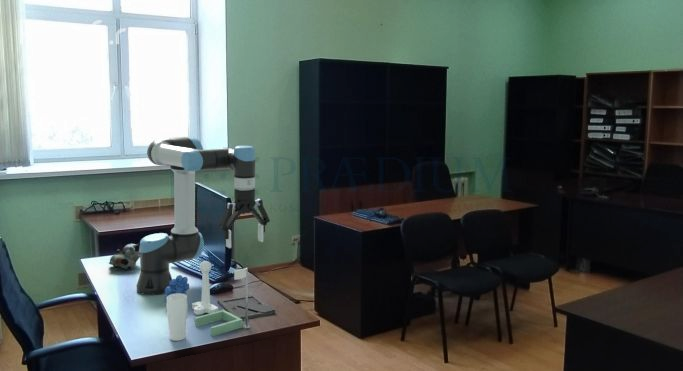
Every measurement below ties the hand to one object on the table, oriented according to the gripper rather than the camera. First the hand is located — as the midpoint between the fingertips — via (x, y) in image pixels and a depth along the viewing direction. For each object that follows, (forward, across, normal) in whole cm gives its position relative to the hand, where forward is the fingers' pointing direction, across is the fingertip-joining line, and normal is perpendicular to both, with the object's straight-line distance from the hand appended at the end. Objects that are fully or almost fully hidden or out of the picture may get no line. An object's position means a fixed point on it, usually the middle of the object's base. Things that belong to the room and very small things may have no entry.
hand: (244, 244), depth 216 cm
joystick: (+29, -12, +12) cm, 33 cm away
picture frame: (+29, +4, +6) cm, 30 cm away
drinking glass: (+28, -29, -5) cm, 41 cm away
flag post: (+28, -7, -11) cm, 31 cm away
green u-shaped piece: (+28, -13, -4) cm, 31 cm away
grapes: (+29, -16, +26) cm, 42 cm away
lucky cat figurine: (+31, -16, +86) cm, 93 cm away
